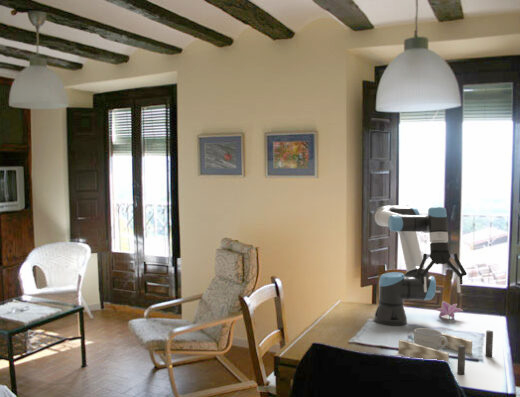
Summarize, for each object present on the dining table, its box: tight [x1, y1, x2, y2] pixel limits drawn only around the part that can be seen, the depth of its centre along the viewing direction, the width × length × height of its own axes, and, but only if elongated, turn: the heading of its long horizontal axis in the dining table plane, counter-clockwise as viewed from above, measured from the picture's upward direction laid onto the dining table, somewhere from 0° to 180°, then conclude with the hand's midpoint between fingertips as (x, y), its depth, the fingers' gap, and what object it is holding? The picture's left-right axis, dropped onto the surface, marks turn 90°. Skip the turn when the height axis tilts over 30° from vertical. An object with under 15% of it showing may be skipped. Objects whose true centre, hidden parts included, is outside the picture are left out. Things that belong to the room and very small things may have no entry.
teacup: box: [413, 327, 448, 351], centre depth 196 cm, size 14×11×8 cm
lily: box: [434, 300, 464, 320], centre depth 239 cm, size 12×12×10 cm
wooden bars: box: [397, 329, 494, 376], centre depth 192 cm, size 27×27×10 cm
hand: (442, 292), depth 207 cm, fingers open, 13 cm apart
